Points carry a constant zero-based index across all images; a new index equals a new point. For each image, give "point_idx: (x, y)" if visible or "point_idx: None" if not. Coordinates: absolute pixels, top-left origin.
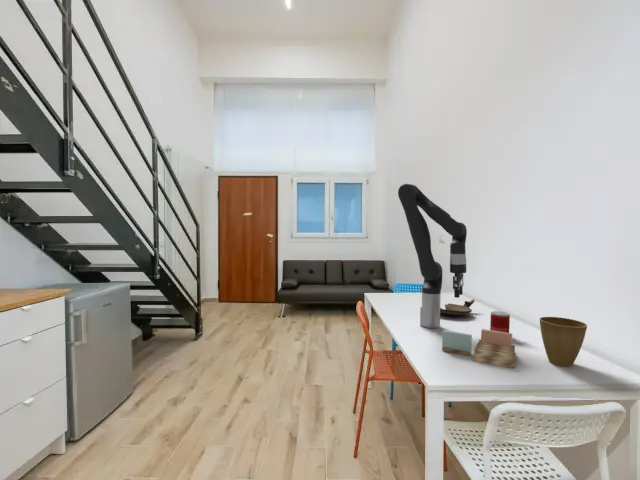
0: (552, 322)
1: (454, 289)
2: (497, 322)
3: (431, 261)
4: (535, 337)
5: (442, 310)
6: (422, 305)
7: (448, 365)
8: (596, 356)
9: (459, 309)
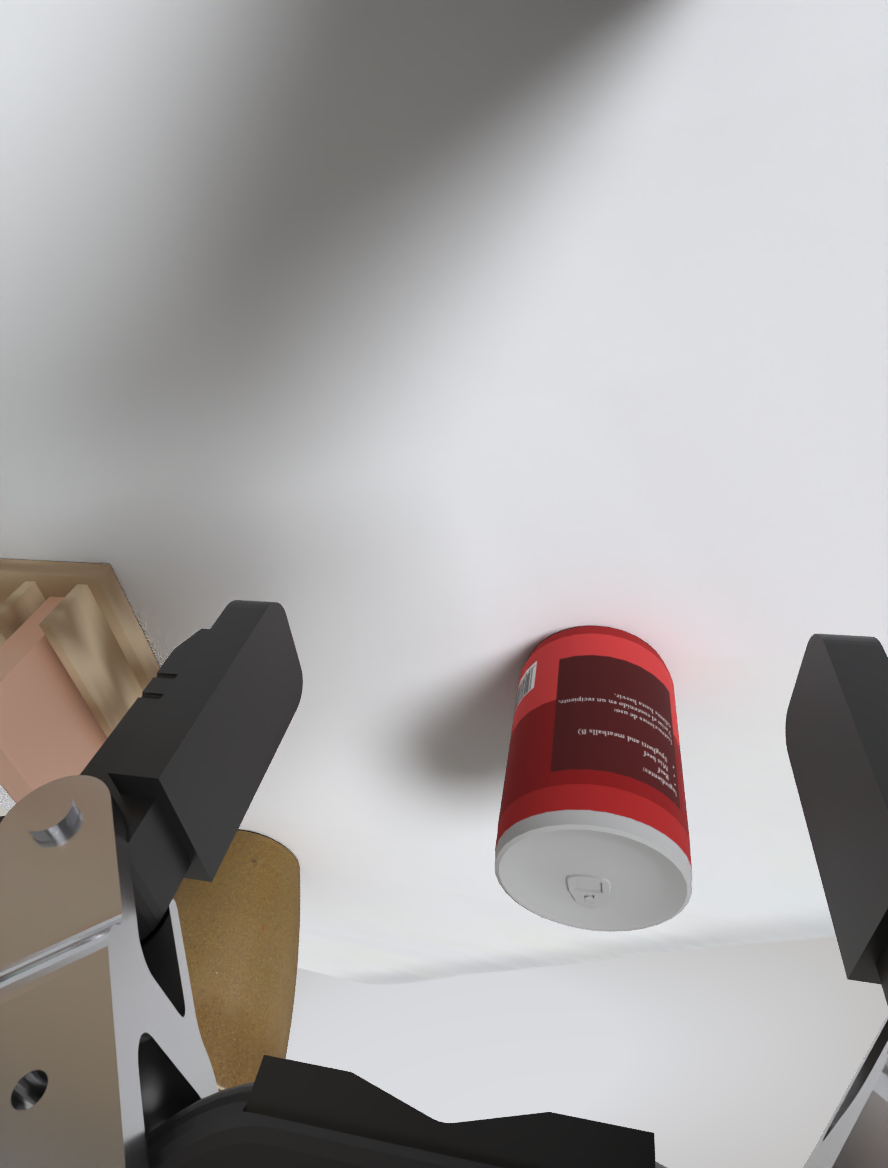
0: (251, 1055)
1: (65, 794)
2: (504, 782)
3: None
4: (701, 849)
5: None
6: None
7: None
8: (471, 958)
9: None
